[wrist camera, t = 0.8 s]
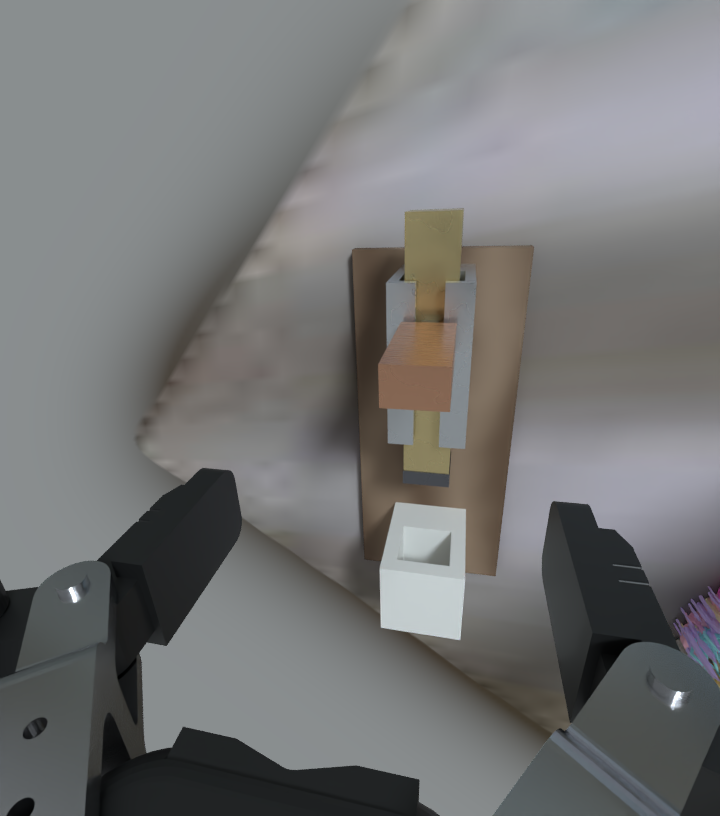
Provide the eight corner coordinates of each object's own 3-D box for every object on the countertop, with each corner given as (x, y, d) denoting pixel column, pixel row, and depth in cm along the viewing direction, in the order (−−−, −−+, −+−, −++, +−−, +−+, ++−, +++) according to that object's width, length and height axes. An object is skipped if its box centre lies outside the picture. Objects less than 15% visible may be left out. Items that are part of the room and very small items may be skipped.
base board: (532, 245, 30) (534, 247, 29) (494, 568, 42) (495, 576, 41) (355, 248, 33) (351, 249, 32) (366, 552, 44) (364, 559, 43)
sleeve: (475, 263, 30) (476, 282, 24) (466, 400, 35) (465, 449, 28) (403, 264, 31) (386, 282, 25) (402, 397, 36) (387, 443, 29)
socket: (465, 509, 39) (465, 579, 32) (461, 563, 41) (460, 640, 34) (395, 501, 40) (379, 568, 33) (395, 555, 42) (381, 627, 35)
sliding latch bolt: (464, 208, 26) (461, 217, 16) (450, 463, 33) (442, 583, 23) (410, 210, 27) (374, 219, 17) (408, 459, 34) (381, 574, 24)
